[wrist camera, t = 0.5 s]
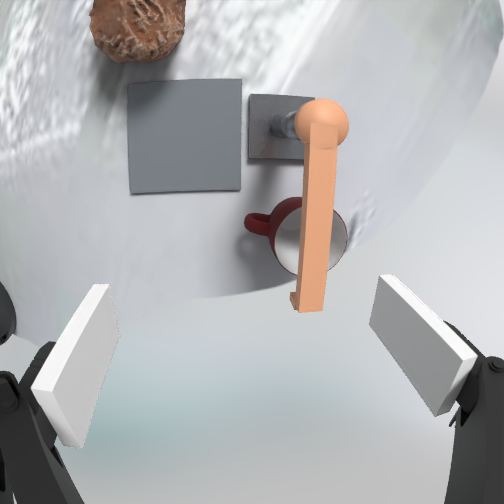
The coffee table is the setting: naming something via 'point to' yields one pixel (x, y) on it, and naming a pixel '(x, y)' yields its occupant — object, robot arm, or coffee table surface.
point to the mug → (293, 233)
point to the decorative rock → (137, 28)
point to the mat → (184, 135)
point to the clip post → (275, 126)
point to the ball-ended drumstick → (317, 197)
